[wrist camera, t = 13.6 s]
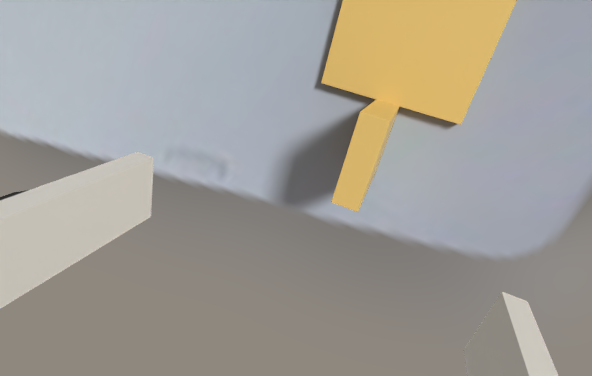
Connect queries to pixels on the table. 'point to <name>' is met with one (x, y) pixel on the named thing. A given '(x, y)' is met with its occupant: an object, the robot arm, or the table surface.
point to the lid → (407, 69)
